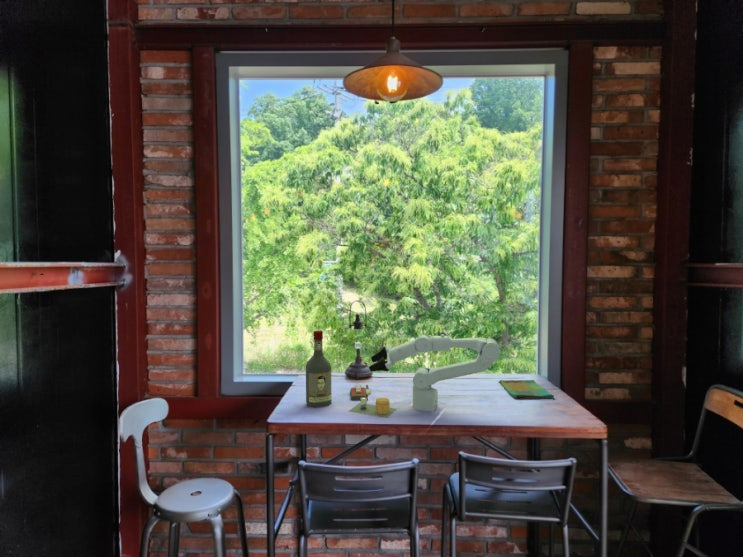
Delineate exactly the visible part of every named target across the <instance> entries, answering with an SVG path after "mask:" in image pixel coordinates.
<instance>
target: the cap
mask: <svg viewBox="0 0 743 557" xmlns="http://www.w3.org/2000/svg"><path fill="white" fill-rule="evenodd" d="M390 404H391V402H390V399H389V398H387V397H378V398H376V399H375V405H376V413H378V414H387V413H389V412H390V408H391V407H390V406H391V405H390Z"/></svg>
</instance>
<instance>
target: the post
mask: <svg viewBox="0 0 743 557" xmlns="http://www.w3.org/2000/svg"><path fill="white" fill-rule="evenodd" d="M367 398H368V397H367ZM367 398H366V397H362V398H360V402H359V403H360V409H363V410H364V409H367V404H368V402H367V401H368V400H367Z"/></svg>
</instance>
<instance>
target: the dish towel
mask: <svg viewBox="0 0 743 557" xmlns="http://www.w3.org/2000/svg"><path fill="white" fill-rule="evenodd" d="M499 383H500V384H501V385H502V386H503V387H504V388H503V387H502V386H501V385H500V384H499ZM498 384H499V385H500V386H501V387H502V388H503V389H504V390H505V391H506V392H507V393H508V394H509V395H510V396H511V397H512V398H513V399H514V398H515V399H514V400H540V399H553V400H555V395H554V394H553V393H550V392H549V391H548V390H547V389H545V388H544V387H542V385H541V384H538V383H537V382H536V381H535V379H529V380H528V379H526V380H525V379H520V380H518V379H517V380H512V379H509V380H507V379H506V380H501V379H500V380H499V381H498Z"/></svg>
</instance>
